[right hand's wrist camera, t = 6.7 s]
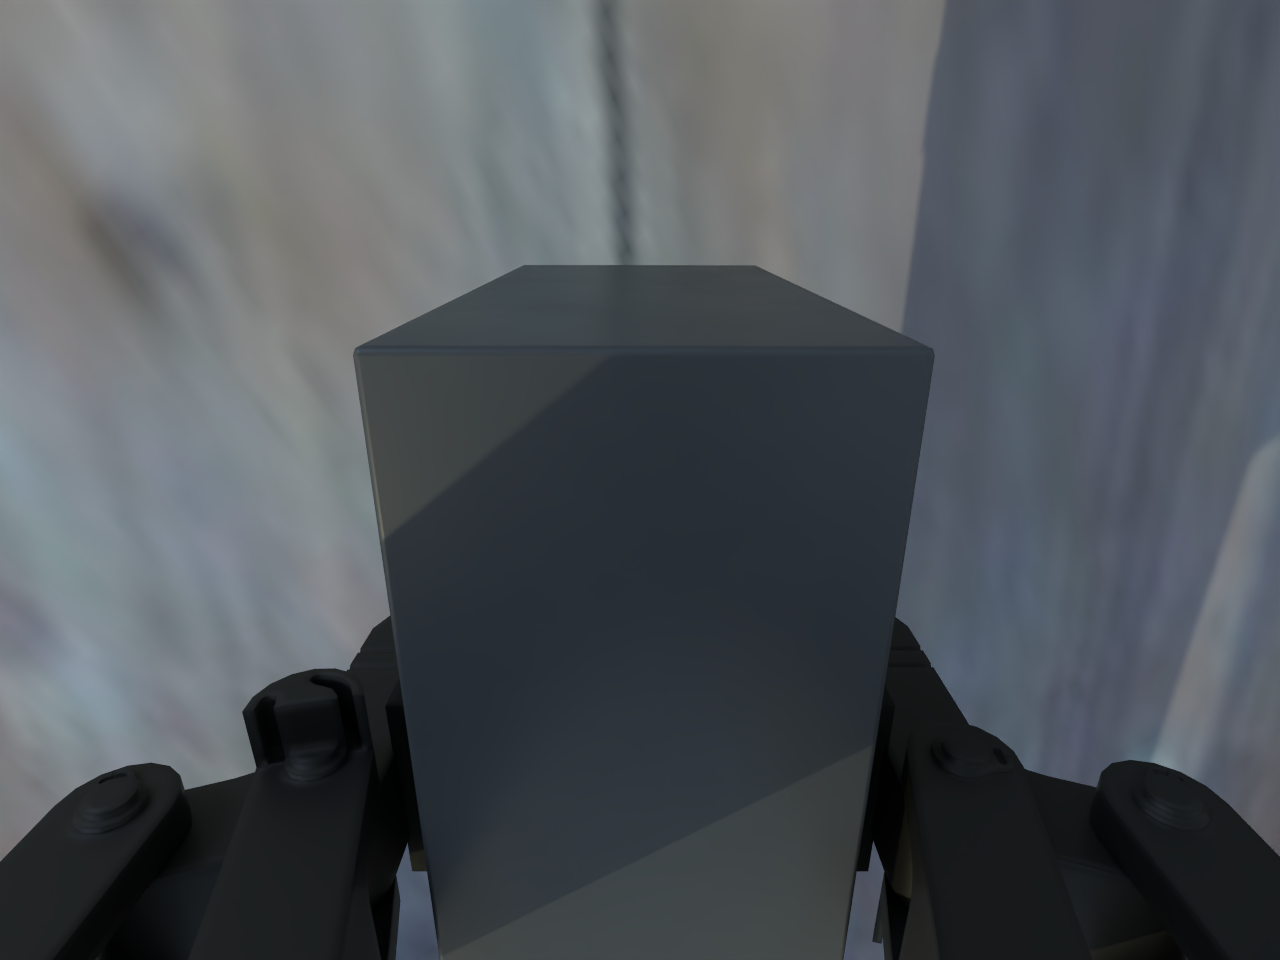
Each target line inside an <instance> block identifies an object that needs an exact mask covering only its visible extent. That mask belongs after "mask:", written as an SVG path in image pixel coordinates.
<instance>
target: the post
mask: <svg viewBox="0 0 1280 960" xmlns="http://www.w3.org/2000/svg"><path fill="white" fill-rule="evenodd" d="M353 357H354V364H355V371H356V378H357V385H358V392H359V399H360V406H361V413H362V420H363V426H364V433H365V440H366V447H367V454H368V461H369V468H370V475H371V482H372V489H373V496H374V503H375V510H376V517H377V524H378V531H379V538H380V545H381V552H382V559H383V566H384V573H385V580H386V587H387V594H388V601H389V608H390V615H391V622H392V629H393V636H394V643H395V650H396V657H397V664H398V671H399V678H400V685H401V692H402V699H403V706H404V713H405V719H406V726H407V733H408V740H409V747H410V754H411V761H412V768H413V775H414V782H415V789H416V796H417V803H418V810H419V817H420V824H421V831H422V838H423V845H424V852H425V859H426V866H427V873H428V880H429V887H430V894H431V901H432V908H433V915H434V922H435V929H436V936H437V943H438V950H439V957H440V960H843V958H844V951H845V944H846V938H847V931H848V925H849V918H850V911H851V905H852V898H853V891H854V885H855V878H856V872H857V865H858V858H859V852H860V845H861V839H862V832H863V825H864V819H865V812H866V805H867V799H868V792H869V786H870V779H871V772H872V766H873V759H874V753H875V746H876V739H877V733H878V726H879V720H880V713H881V706H882V700H883V693H884V686H885V680H886V673H887V667H888V660H889V653H890V647H891V640H892V634H893V627H894V620H895V614H896V607H897V600H898V594H899V587H900V581H901V574H902V567H903V561H904V554H905V548H906V541H907V534H908V528H909V521H910V515H911V508H912V501H913V495H914V488H915V481H916V475H917V468H918V462H919V455H920V448H921V442H922V435H923V429H924V422H925V415H926V409H927V402H928V395H929V389H930V382H931V376H932V369H933V362H934V352H933V349H932V348H930V347H928V346H926V345H924V344H921V343H919V342H917V341H915V340H913V339H911V338H909V337H906V336H904V335H902V334H900V333H898V332H896V331H894V330H891V329H889V328H887V327H885V326H883V325H881V324H879V323H877V322H874V321H872V320H870V319H868V318H866V317H864V316H862V315H859V314H857V313H855V312H853V311H851V310H849V309H847V308H845V307H842V306H840V305H838V304H836V303H834V302H832V301H830V300H827V299H825V298H823V297H821V296H819V295H817V294H815V293H813V292H810V291H808V290H806V289H804V288H802V287H800V286H798V285H795V284H793V283H791V282H789V281H787V280H785V279H783V278H781V277H778V276H776V275H774V274H772V273H770V272H768V271H766V270H763V269H761V268H759V267H757V266H691V265H524V266H522V267H519V268H517V269H515V270H513V271H511V272H509V273H507V274H505V275H503V276H501V277H499V278H497V279H495V280H493V281H491V282H489V283H487V284H485V285H483V286H481V287H479V288H477V289H475V290H473V291H471V292H469V293H466V294H464V295H462V296H460V297H458V298H456V299H454V300H452V301H450V302H448V303H446V304H444V305H442V306H440V307H438V308H436V309H434V310H432V311H430V312H428V313H426V314H424V315H422V316H420V317H418V318H416V319H414V320H411V321H409V322H407V323H405V324H403V325H401V326H399V327H397V328H395V329H393V330H391V331H389V332H387V333H385V334H383V335H381V336H379V337H377V338H375V339H373V340H371V341H369V342H367V343H365V344H363V345H361V346H359V347H356V348H355V351H354V354H353Z"/></svg>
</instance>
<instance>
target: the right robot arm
mask: <svg viewBox="0 0 1280 960" xmlns="http://www.w3.org/2000/svg"><path fill="white" fill-rule="evenodd" d="M242 713H243V717H244V720H245V724H246V728H247V732H248V736H249V740H250V744H251V748H252V751H253V755H254V759H255V763H256V767H257V768H256V771H255V772H254V773H251V774H248V775H245V776H241V777H238V778H235V779H231V780H226V781H222V782H218V783H213V784H209V785H205V786H201V787H196V788H192V789H188V790H185V789H184V786H183V783H182V780H181V777H180V775H179V774H178V773H177V772H176V771H175V770H174V769H172V768H171V767H170V766H166V765H161V764H155V763H146V764H138V765H130V766H126V767H123V768H120V769H117V770H114V771H111V772H108V773H105V774H102V775H100V776H98V777H96V778H95V779H93V780H91V781H89V782H87V783H85V784H84V785H82V786H80V787H78V788H76V789H75V790H74V791H72V792H71V793H70V794H69V795H68V796H66V797H65V798H64V799H63V800H61V801H60V802H59V803H58V804H57V805H55V806H54V807H53V808H52V809H51V810H50V811H49V812H48V813H47V814H46V815H45V816H44V817H43V818H42V819H41V821H40V822H39V823H38V824H37V825H36V826H35V827H34V828H33V829H32V830H31V831H30V832H29V833H28V834H27V835H26V836H25V837H24V838H23V839H22V840H21V841H20V842H19V843H18V844H17V845H16V846H15V847H14V848H13V849H12V850H11V851H10V852H9V853H8V854H7V855H6V857H5V858H4V859H3V860H2V861H1V862H0V960H395V958H396V946H397V934H398V922H399V911H400V896H399V889H398V883H397V877H396V873H397V870H398V868H399V865H400V862H401V859H402V856H403V854H404V851H405V848H406V845H407V843H408V848H409V854H410V860H411V866H412V871H427V866H426V859H425V852H424V845H423V838H422V831H421V824H420V817H419V810H418V803H417V796H416V789H415V782H414V775H413V768H412V761H411V754H410V747H409V740H408V733H407V726H406V719H405V713H404V706H403V699H402V692H401V685H400V678H399V671H398V664H397V657H396V650H395V643H394V636H393V629H392V622H391V615H390V616H389V617H388V618H386V619H385V620H384V621H382V622H381V623H380V624H378V625H377V626H376V627H374V628H373V629H372V631H371V633H370V634H369V636H368V637H367V639H366V641H365V642H364V644H363V646H362V647H361V651H360V653H358V654H357V655H356V657H355V658H354V660H353V662H352V663H351V665H350V670H347V671H342V670H339V669H313V670H308V671H304V672H300V673H296V674H292V675H289V676H287V677H285V678H283V679H281V680H278V681H276V682H274V683H272V684H270V685H269V686H267V687H266V688H264V689H263V690H262V691H260V692H259V693H258V694H256V695H255V696H254V697H253V698H252V699H251V700H250V702H249V703H248V705H247V706H246V707H245V709H244V710H243V712H242ZM873 841H874V843H875V846H876V849H877V852H878V855H879V857H880V860H881V863H882V866H883V868H884V871H885V872H884V877H883V883H882V888H881V894H880V900H879V905H878V911H877V917H876V922H875V928H874V935H873V941H872V942H876V943H882V938H883V944H884V956H885V960H1280V857H1279V855H1278V854H1277V853H1276V852H1275V851H1274V850H1273V849H1272V848H1271V847H1270V846H1269V845H1268V844H1267V843H1266V842H1265V841H1264V840H1263V839H1262V838H1261V837H1260V836H1259V835H1258V834H1257V833H1256V832H1255V831H1254V830H1253V829H1252V828H1251V827H1250V826H1249V825H1248V824H1247V823H1246V822H1245V821H1244V820H1243V819H1242V818H1241V817H1240V816H1239V815H1238V814H1237V813H1236V812H1235V811H1234V810H1233V809H1232V808H1231V806H1230V805H1229V804H1228V803H1226V802H1225V801H1224V800H1223V799H1221V798H1220V797H1219V796H1218V795H1217V794H1215V793H1214V792H1213V791H1212V790H1210V789H1209V788H1208V787H1207V786H1205V785H1203V784H1202V783H1200V782H1198V781H1196V780H1194V779H1192V778H1190V777H1189V776H1187V775H1185V774H1183V773H1181V772H1179V771H1176V770H1173V769H1170V768H1167V767H1164V766H1161V765H1158V764H1155V763H1150V762H1142V761H1134V760H1128V761H1122V762H1116V763H1112V764H1110V765H1109V766H1108V767H1107V768H1106V769H1105V770H1104V771H1102V772H1101V775H1100V779H1099V782H1098V785H1097V788H1096V787H1092V786H1088V785H1083V784H1079V783H1075V782H1071V781H1066V780H1062V779H1058V778H1053V777H1049V776H1045V775H1042V774H1039V773H1035V772H1032V771H1029V770H1026V769H1024V767H1023V765H1022V764H1021V762H1020V761H1019V759H1018V757H1017V756H1016V754H1015V753H1014V751H1013V750H1012V749H1010V748H1009V747H1008V746H1007V745H1006V744H1004V743H1003V742H1002V741H1001V740H1000V739H998V738H997V737H995V736H994V735H992V734H990V733H988V732H986V731H984V730H982V729H980V728H978V727H975V726H971V725H969V724H968V722H967V721H966V719H965V717H964V716H963V714H962V713H961V711H960V709H959V708H958V706H957V705H956V703H955V701H954V700H953V698H952V697H951V695H950V693H949V692H948V690H947V689H946V687H945V685H944V684H943V682H942V681H941V679H940V677H939V676H938V674H937V673H936V671H935V669H934V668H933V667H931V663H930V661H929V660H928V658H927V656H926V655H925V653H924V652H923V650H920V645H919V644H918V642H917V640H916V639H915V637H914V636H913V634H912V632H911V631H910V629H909V628H908V626H907V625H905V624H904V623H903V622H901V621H900V620H899V619H897V618H896V617H895V620H894V627H893V634H892V640H891V647H890V653H889V660H888V667H887V673H886V680H885V686H884V693H883V700H882V706H881V713H880V720H879V726H878V733H877V739H876V746H875V753H874V759H873V766H872V772H871V779H870V786H869V792H868V799H867V805H866V812H865V819H864V825H863V832H862V839H861V845H860V852H859V858H858V865H857V871H868V868H869V862H870V856H871V850H872V844H873Z"/></svg>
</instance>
